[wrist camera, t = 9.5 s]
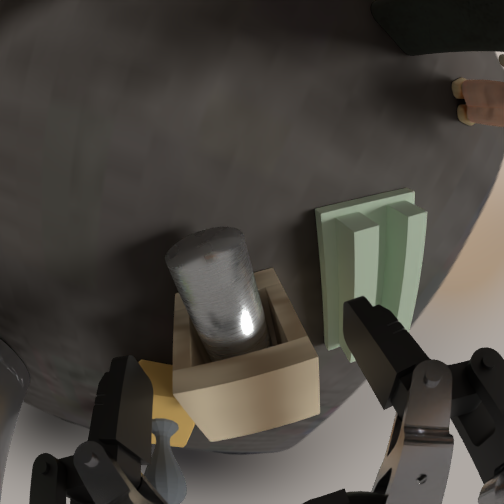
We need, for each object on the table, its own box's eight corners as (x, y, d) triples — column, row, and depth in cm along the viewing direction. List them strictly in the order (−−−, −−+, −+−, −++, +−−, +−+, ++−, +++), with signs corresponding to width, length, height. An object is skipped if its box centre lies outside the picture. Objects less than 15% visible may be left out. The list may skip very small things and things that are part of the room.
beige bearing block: (220, 389, 25) (234, 467, 17) (175, 293, 19) (172, 393, 12) (290, 370, 25) (319, 444, 18) (272, 267, 20) (318, 356, 12)
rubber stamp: (137, 357, 21) (128, 489, 11) (202, 368, 23) (220, 496, 13) (132, 413, 25) (130, 511, 14) (183, 421, 27) (193, 516, 16)
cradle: (324, 343, 24) (339, 370, 21) (314, 208, 18) (338, 228, 15) (395, 315, 25) (414, 336, 22) (406, 187, 19) (437, 202, 16)
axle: (280, 374, 22) (290, 413, 18) (234, 385, 22) (239, 424, 18) (239, 220, 15) (248, 254, 12) (170, 239, 15) (159, 278, 12)
